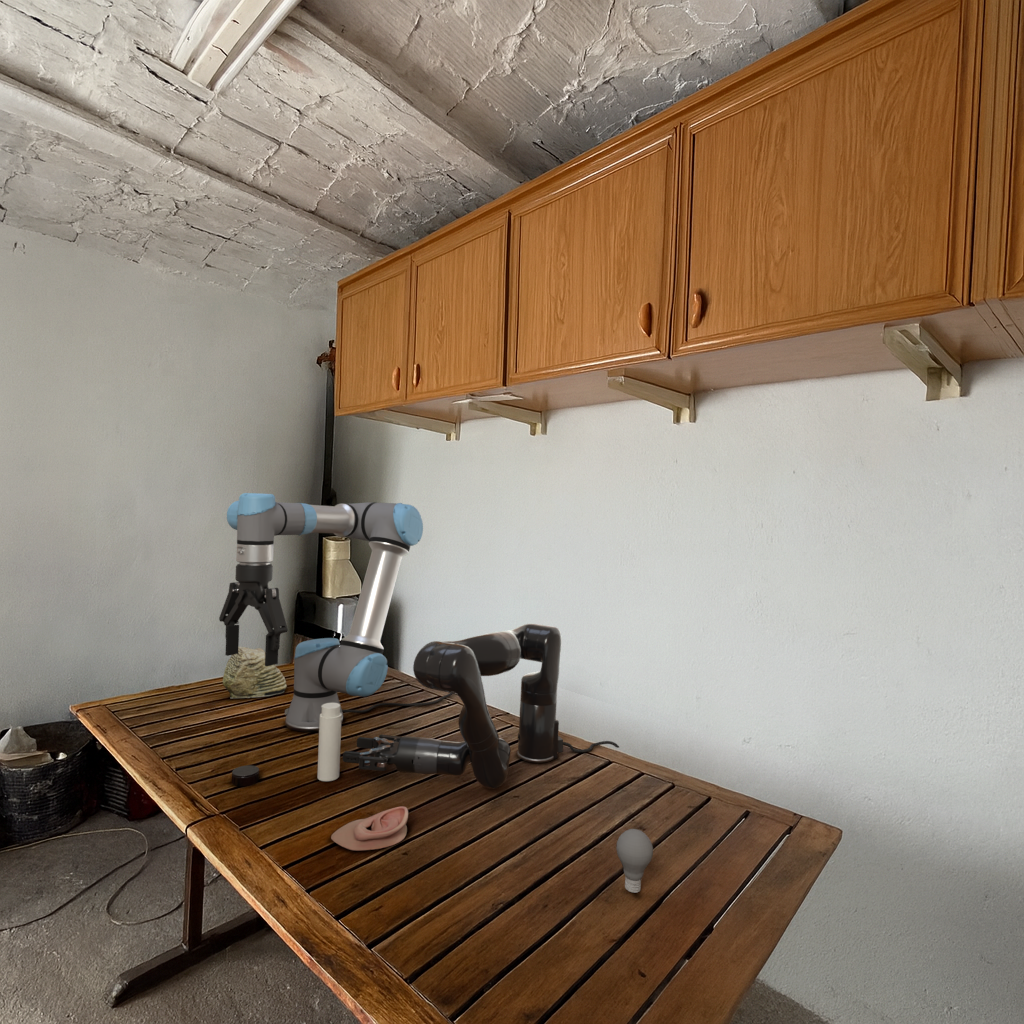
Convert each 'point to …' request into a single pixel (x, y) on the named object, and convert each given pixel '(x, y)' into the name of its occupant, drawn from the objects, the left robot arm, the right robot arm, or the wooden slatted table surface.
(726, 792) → the wooden slatted table surface
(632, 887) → the light bulb
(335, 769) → the jar
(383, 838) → the anatomical model
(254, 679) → the fossil
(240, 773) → the lid
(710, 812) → the wooden slatted table surface
